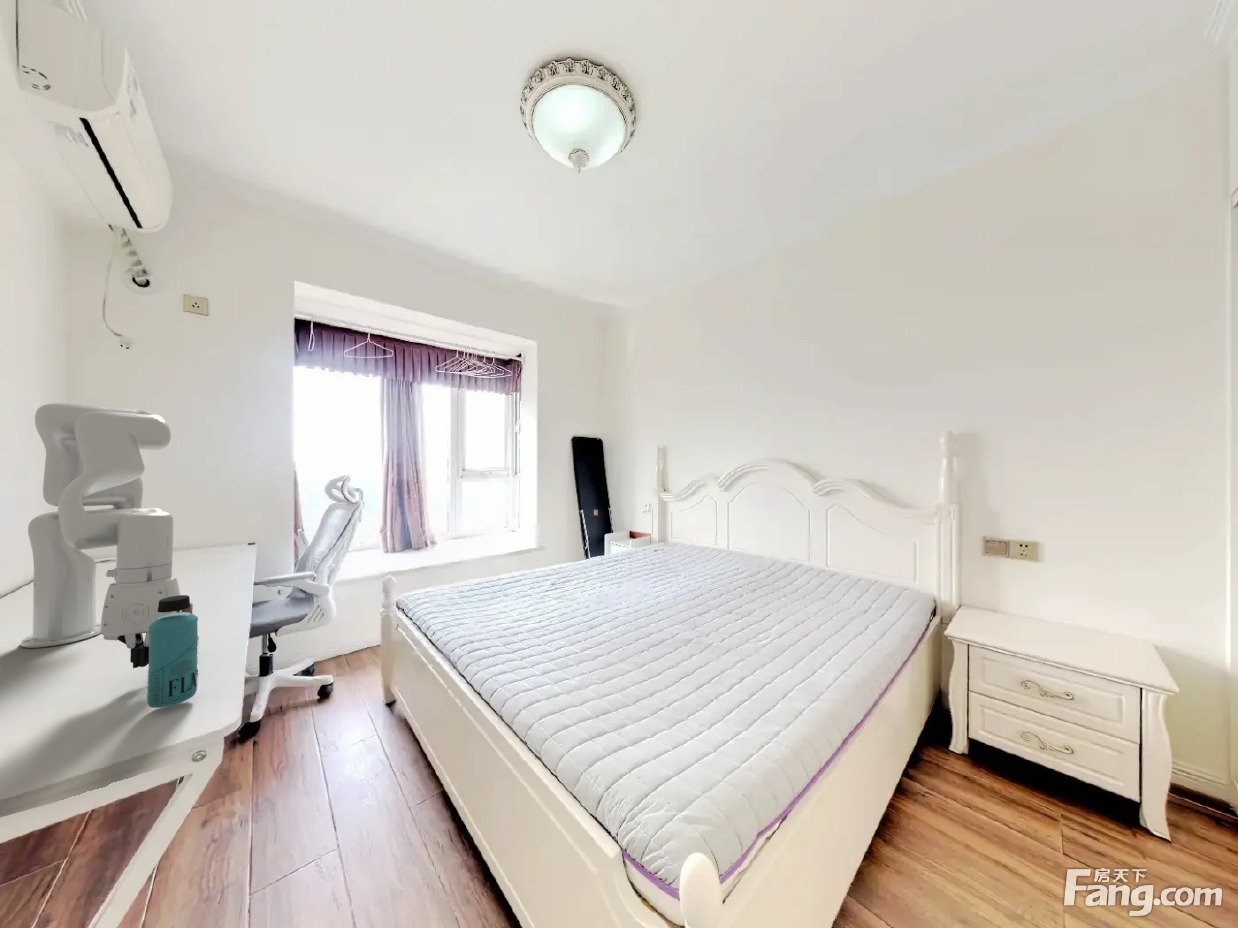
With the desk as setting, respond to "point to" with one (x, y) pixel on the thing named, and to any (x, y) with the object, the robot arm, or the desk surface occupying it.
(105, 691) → the desk surface
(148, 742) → the desk surface
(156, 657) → the beverage bottle
